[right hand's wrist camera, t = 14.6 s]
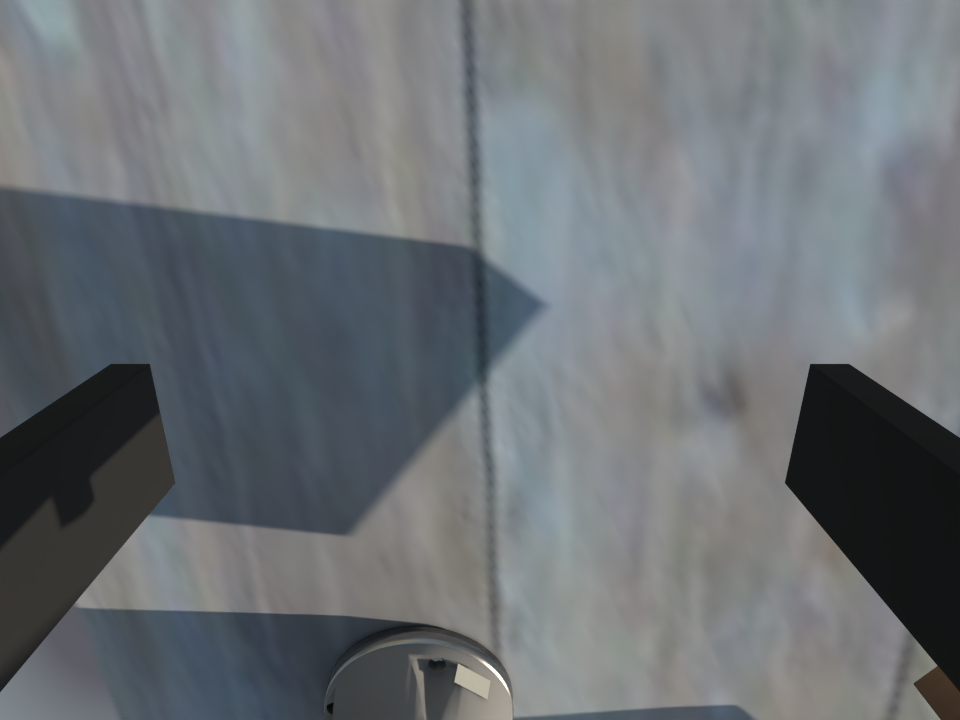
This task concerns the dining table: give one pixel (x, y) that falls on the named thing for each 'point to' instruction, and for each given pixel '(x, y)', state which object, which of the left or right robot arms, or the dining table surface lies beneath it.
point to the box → (940, 694)
